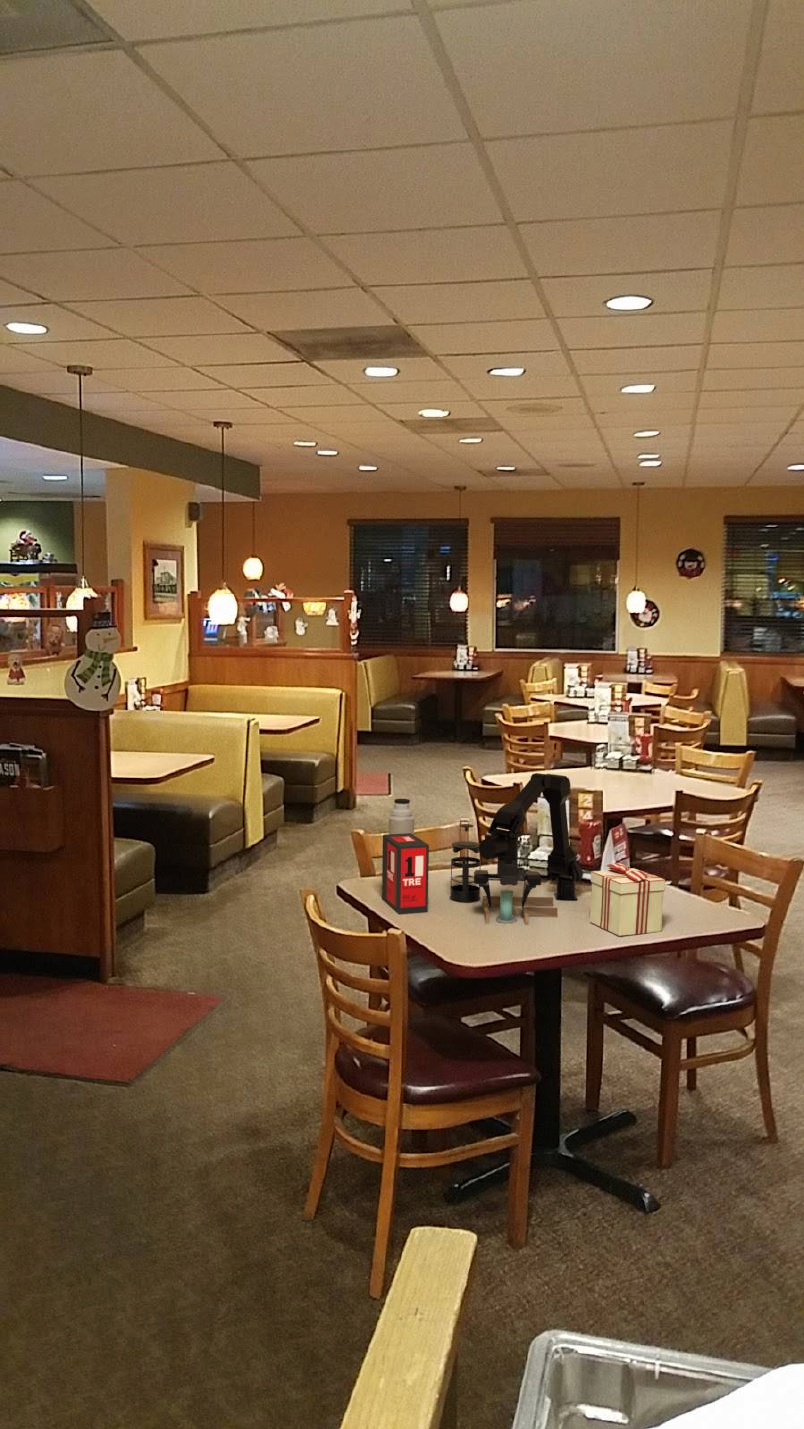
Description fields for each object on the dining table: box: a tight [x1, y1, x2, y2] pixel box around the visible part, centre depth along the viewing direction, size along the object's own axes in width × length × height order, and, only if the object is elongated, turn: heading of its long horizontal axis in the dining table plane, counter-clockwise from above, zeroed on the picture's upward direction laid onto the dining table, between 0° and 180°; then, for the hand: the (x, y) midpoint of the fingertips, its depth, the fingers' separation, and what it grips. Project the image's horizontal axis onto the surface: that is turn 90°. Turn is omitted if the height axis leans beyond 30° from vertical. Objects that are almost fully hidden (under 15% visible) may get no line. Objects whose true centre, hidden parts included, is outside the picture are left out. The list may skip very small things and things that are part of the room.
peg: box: [499, 889, 514, 921], centre depth 313 cm, size 4×4×8 cm
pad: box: [495, 915, 518, 924], centre depth 314 cm, size 6×6×1 cm
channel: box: [481, 895, 558, 926], centre depth 320 cm, size 20×21×2 cm
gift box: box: [589, 862, 666, 937], centre depth 309 cm, size 17×18×17 cm
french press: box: [449, 823, 482, 904], centre depth 335 cm, size 12×9×23 cm
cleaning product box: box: [381, 833, 430, 915], centre depth 326 cm, size 16×9×20 cm, turn 18°
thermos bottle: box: [388, 798, 415, 836], centre depth 347 cm, size 8×8×28 cm
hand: (506, 907), depth 313 cm, fingers open, 9 cm apart
